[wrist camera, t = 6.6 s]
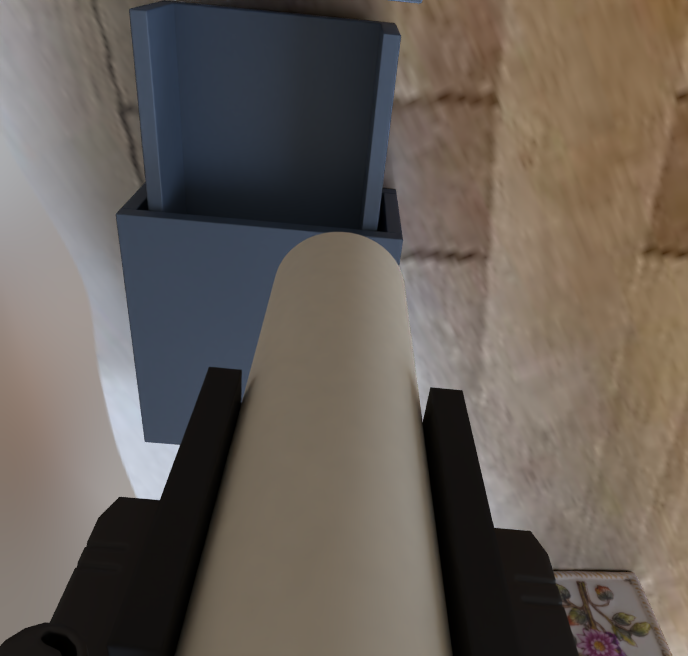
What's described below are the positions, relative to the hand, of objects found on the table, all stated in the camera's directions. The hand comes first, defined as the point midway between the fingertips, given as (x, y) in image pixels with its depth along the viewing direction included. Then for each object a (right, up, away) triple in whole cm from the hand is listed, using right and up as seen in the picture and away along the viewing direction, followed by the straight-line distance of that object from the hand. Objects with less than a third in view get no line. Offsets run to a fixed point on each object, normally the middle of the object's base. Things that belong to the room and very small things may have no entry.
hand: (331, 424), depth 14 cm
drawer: (-3, +17, +18) cm, 25 cm away
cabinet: (-4, +5, +26) cm, 27 cm away
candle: (0, +4, +6) cm, 7 cm away
